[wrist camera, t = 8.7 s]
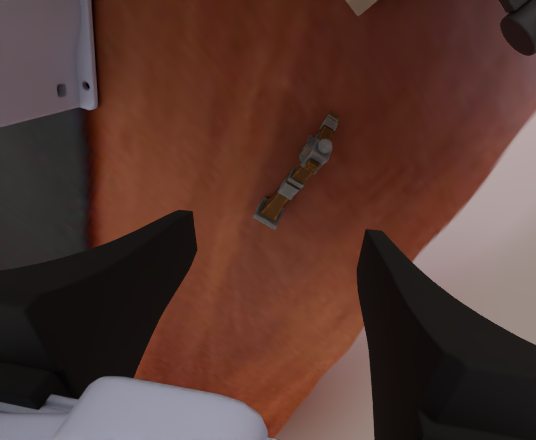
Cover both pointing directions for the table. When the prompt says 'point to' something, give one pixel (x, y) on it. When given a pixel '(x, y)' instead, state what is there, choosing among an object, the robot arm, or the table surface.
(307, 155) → the wooden post with brackets
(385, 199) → the table surface
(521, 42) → the drawer
